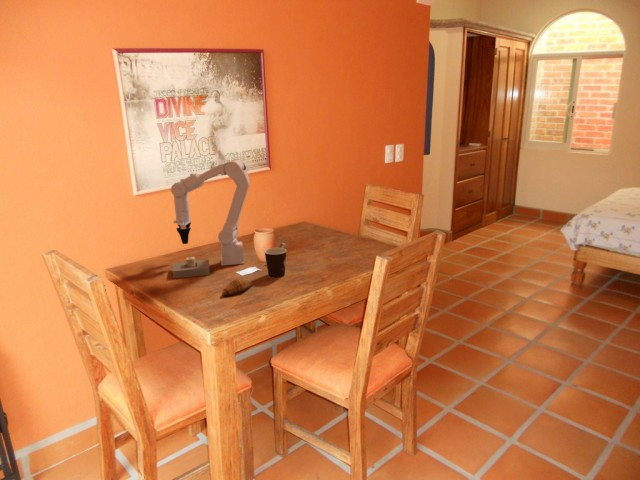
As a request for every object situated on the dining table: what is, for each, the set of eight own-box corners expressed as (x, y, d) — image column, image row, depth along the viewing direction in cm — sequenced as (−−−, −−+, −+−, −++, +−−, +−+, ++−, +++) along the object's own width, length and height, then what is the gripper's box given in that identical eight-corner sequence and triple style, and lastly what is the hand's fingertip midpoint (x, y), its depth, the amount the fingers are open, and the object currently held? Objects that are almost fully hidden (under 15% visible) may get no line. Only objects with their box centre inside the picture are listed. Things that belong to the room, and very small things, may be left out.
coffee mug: (278, 280, 186) (277, 255, 183) (261, 276, 190) (259, 252, 188) (296, 271, 195) (295, 247, 193) (279, 267, 200) (277, 244, 197)
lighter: (272, 264, 204) (271, 246, 202) (270, 263, 206) (269, 245, 203) (286, 260, 209) (285, 242, 207) (283, 259, 210) (282, 241, 208)
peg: (195, 270, 199) (194, 256, 197) (195, 273, 196) (194, 259, 194) (187, 271, 198) (186, 257, 196) (187, 273, 195) (186, 259, 193)
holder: (209, 266, 203) (208, 259, 202) (209, 274, 193) (209, 267, 192) (174, 269, 200) (173, 262, 199) (173, 278, 190) (172, 271, 189)
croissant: (229, 300, 169) (228, 286, 168) (217, 295, 173) (216, 282, 172) (258, 288, 179) (257, 275, 178) (245, 284, 183) (244, 272, 182)
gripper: (173, 207, 208) (176, 237, 212) (171, 214, 195) (175, 246, 199) (190, 206, 210) (192, 236, 214) (189, 213, 196) (192, 245, 200)
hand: (185, 241), depth 206 cm, fingers open, 7 cm apart
